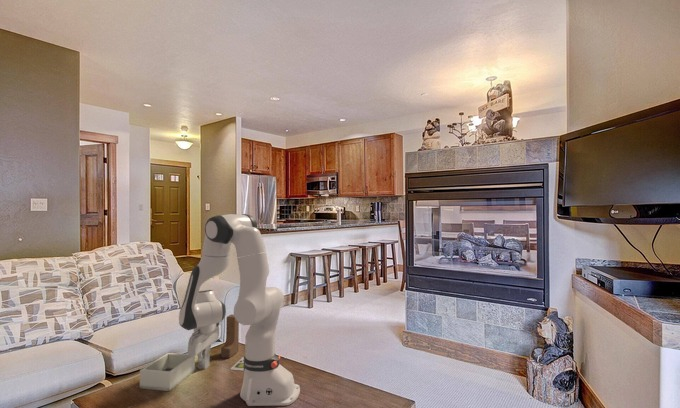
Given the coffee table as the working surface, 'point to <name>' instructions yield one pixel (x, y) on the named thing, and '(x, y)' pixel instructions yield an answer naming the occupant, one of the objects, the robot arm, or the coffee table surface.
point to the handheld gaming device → (239, 365)
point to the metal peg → (205, 361)
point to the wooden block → (231, 337)
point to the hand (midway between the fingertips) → (203, 357)
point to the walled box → (167, 371)
